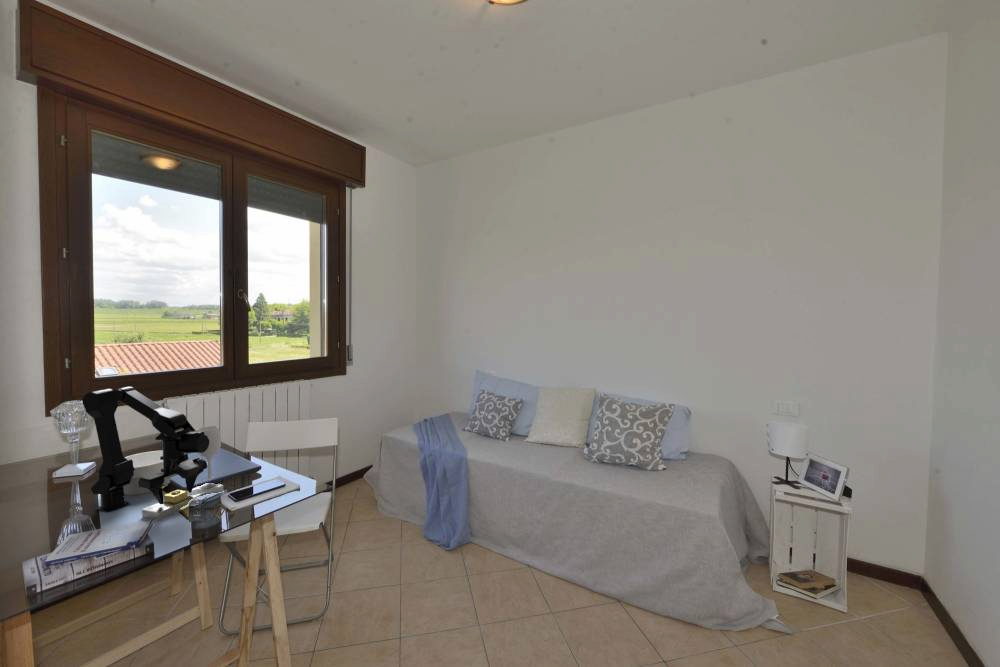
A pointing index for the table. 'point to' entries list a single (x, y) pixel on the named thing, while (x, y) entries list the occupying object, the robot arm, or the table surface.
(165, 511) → the rail
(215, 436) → the wineglass
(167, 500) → the nut block
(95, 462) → the table surface
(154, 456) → the bowl
